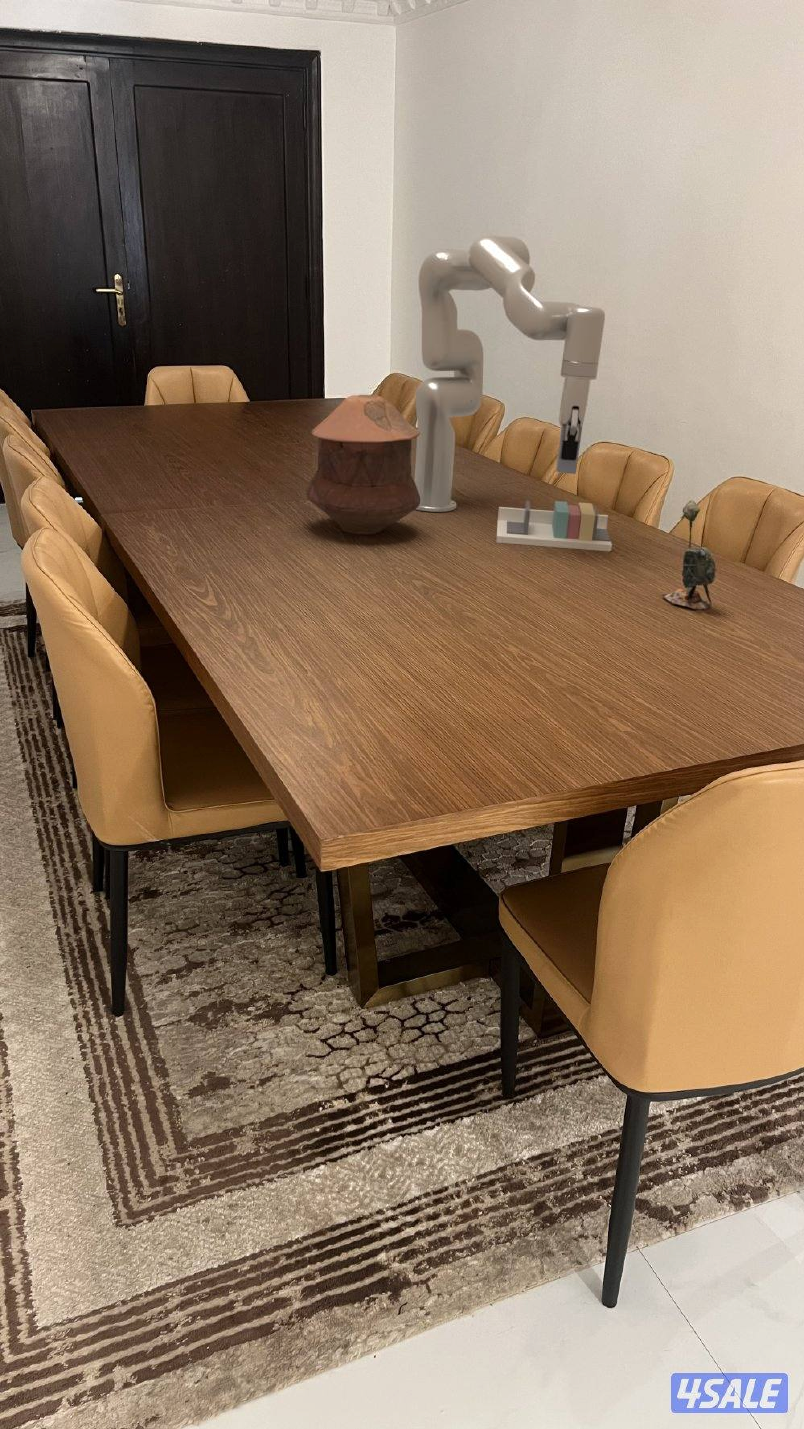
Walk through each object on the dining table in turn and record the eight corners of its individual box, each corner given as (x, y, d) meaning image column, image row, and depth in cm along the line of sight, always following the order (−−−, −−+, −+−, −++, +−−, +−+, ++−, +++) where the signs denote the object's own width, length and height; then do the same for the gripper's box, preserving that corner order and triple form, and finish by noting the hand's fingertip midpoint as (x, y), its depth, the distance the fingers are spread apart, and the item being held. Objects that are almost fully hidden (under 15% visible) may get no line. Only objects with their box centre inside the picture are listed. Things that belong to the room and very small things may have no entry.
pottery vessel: (435, 527, 240) (444, 396, 228) (388, 552, 219) (396, 409, 207) (339, 511, 250) (342, 384, 237) (285, 533, 229) (286, 395, 216)
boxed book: (557, 472, 219) (563, 424, 215) (556, 466, 225) (562, 420, 221) (575, 473, 219) (582, 426, 215) (574, 468, 225) (580, 421, 220)
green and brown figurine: (683, 615, 192) (702, 510, 183) (657, 596, 201) (673, 495, 193) (722, 614, 193) (743, 510, 185) (694, 595, 203) (712, 495, 195)
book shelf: (496, 542, 232) (499, 509, 228) (497, 525, 246) (500, 494, 243) (611, 551, 230) (615, 518, 227) (605, 533, 244) (609, 502, 241)
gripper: (560, 363, 221) (549, 447, 229) (562, 373, 206) (551, 463, 213) (594, 366, 221) (582, 450, 228) (599, 376, 205) (587, 466, 213)
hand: (567, 455), depth 221 cm, fingers closed on boxed book, 6 cm apart
